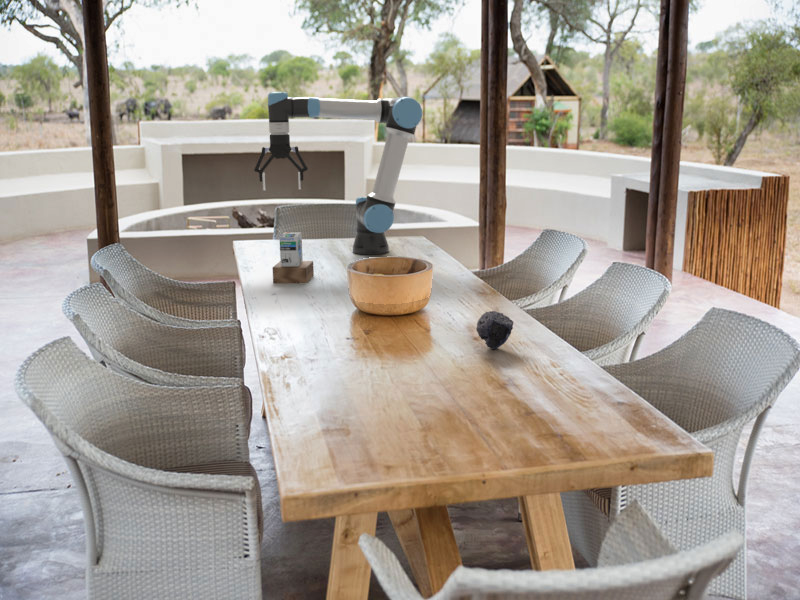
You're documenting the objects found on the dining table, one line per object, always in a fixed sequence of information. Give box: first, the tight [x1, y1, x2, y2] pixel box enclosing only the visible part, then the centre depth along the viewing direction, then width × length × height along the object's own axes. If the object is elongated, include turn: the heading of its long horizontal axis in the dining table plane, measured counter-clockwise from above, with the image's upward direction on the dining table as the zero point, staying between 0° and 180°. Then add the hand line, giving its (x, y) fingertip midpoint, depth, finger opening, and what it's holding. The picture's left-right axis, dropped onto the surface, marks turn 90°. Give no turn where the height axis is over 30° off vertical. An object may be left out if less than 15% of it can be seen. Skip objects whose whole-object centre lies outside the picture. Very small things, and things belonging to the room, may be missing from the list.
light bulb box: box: [278, 231, 304, 267], centre depth 296 cm, size 11×7×11 cm, turn 179°
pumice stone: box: [475, 310, 514, 350], centre depth 214 cm, size 10×8×10 cm
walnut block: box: [272, 260, 315, 284], centre depth 298 cm, size 12×12×6 cm
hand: (282, 189), depth 322 cm, fingers open, 13 cm apart
